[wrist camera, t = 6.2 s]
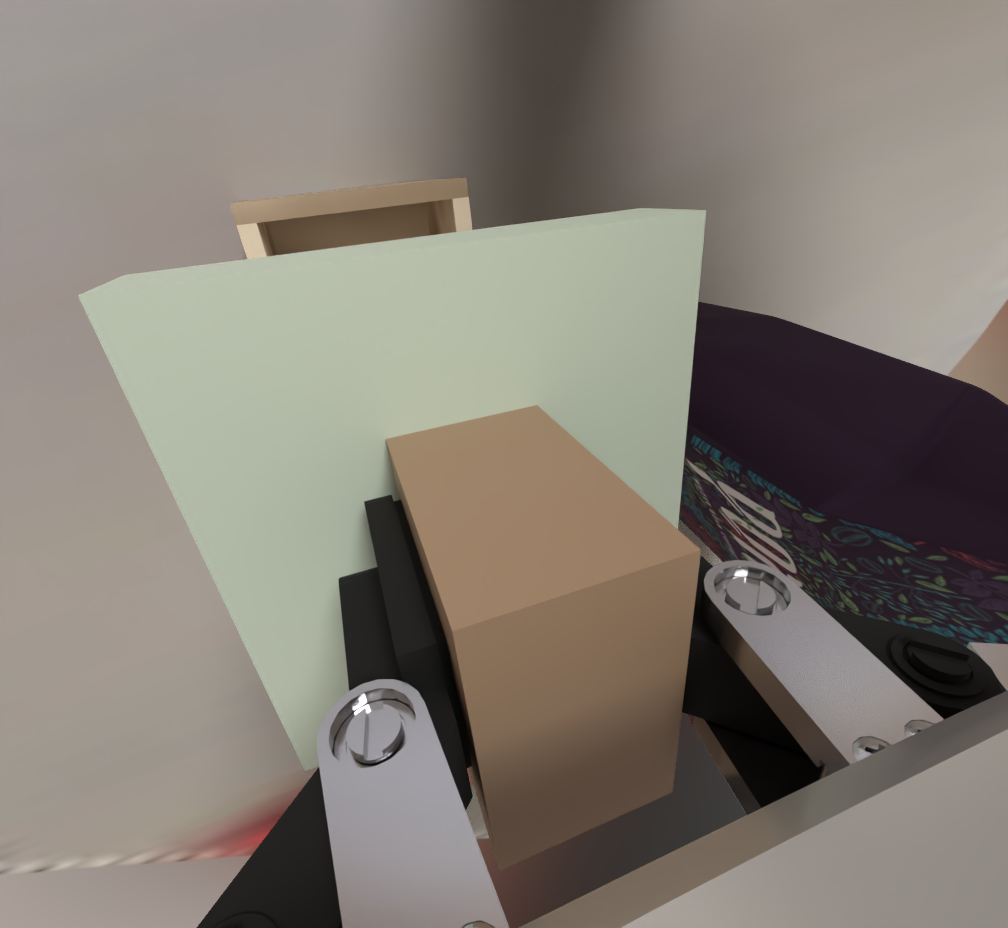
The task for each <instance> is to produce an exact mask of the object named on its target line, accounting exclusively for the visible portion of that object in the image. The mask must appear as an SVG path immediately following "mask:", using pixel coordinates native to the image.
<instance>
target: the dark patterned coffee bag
mask: <svg viewBox="0 0 1008 928" xmlns="http://www.w3.org/2000/svg"><path fill="white" fill-rule="evenodd" d="M679 519H680V520H681V521H682V522H683V523H684V524H685V525H686V526H688V527H689V528H690V529H691V530H692V531H693V532H694V533H695V534H696V535H697V536H698V537H699V538H700V539H701V540H702V541H703V542H704V543H705V544H706V545H707V546H708V547H709V548H710V549H711V550H712V551H713V552H714V553H715V554H716V555H717V556H718V557H719V558H720V559H721V560H722V561H723V562H725V561H733V560H744V561H753V562H757V563H761V564H765V565H767V566H770V567H772V568H774V569H776V570H778V571H780V572H781V573H783V574H784V575H786V576H787V577H788V578H790V579H791V580H792V581H793V582H794V583H795V584H796V585H798V586H799V587H800V588H801V589H802V590H803V591H804V592H805V593H806V594H807V595H809V596H810V597H811V598H812V599H813V600H814V601H815V602H816V603H817V604H818V605H819V606H821V607H826V608H830V609H835V610H839V611H844V612H848V613H853V614H857V615H861V616H866V617H870V618H875V619H879V620H884V621H888V622H893V623H897V624H901V625H906V626H910V627H915V628H919V629H924V630H928V631H931V632H934V633H937V634H940V635H944V636H946V637H948V638H950V639H952V640H954V641H956V642H958V643H961V644H963V645H964V646H965V647H967V646H968V644H969V642H974V643H993V644H1008V405H1006V404H1005V403H1003V402H1002V401H1000V400H999V399H997V398H996V397H994V396H993V395H991V394H990V393H988V392H987V391H985V390H983V389H981V388H979V387H977V386H974V385H972V384H969V383H966V382H963V381H960V380H957V379H954V378H951V377H948V376H945V375H943V374H940V373H937V372H934V371H931V370H928V369H925V368H922V367H919V366H916V365H914V364H911V363H908V362H905V361H902V360H899V359H896V358H893V357H890V356H887V355H885V354H882V353H879V352H876V351H873V350H870V349H867V348H864V347H861V346H859V345H856V344H853V343H850V342H847V341H844V340H841V339H838V338H835V337H832V336H830V335H827V334H824V333H821V332H818V331H815V330H812V329H809V328H806V327H803V326H801V325H798V324H795V323H792V322H789V321H786V320H783V319H780V318H776V317H773V316H768V315H763V314H758V313H753V312H748V311H743V310H738V309H733V308H728V307H723V306H718V305H712V304H707V303H702V302H698V309H697V320H696V332H695V343H694V354H693V365H692V376H691V388H690V399H689V410H688V421H687V433H686V444H685V455H684V466H683V477H682V489H681V500H680V511H679Z"/></svg>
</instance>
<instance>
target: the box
mask: <svg viewBox="0 0 1008 928" xmlns="http://www.w3.org/2000/svg"><path fill="white" fill-rule="evenodd" d="M230 207H231V210H232V213H233V216H234V219H235V222H236V225H237V228H238V231H239V234H240V238H241V241H242V244H243V247H244V250H245V253H246V256H247V259H252V258H260V257H268V256H275V255H283V254H291V253H299V252H306V251H314V250H322V249H329V248H337V247H345V246H353V245H360V244H368V243H376V242H383V241H391V240H399V239H407V238H414V237H422V236H430V235H437V234H445V233H453V232H460V231H468V230H472V221H471V213H470V204H469V195H468V186H467V178H450V179H432V180H424V181H415V182H406V183H397V184H388V185H379V186H370V187H361V188H352V189H344V190H335V191H326V192H317V193H308V194H299V195H290V196H281V197H272V198H264V199H255V200H246V201H242V202H238V203H233V204H230Z"/></svg>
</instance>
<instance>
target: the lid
mask: <svg viewBox="0 0 1008 928" xmlns="http://www.w3.org/2000/svg"><path fill="white" fill-rule="evenodd" d="M705 219H706V210H685V209H654V208H638V209H630V210H622V211H615V212H607V213H599V214H592V215H584V216H576V217H568V218H561V219H553V220H545V221H538V222H530V223H522V224H514V225H507V226H499V227H491V228H484V229H476V230H468V231H460V232H453V233H445V234H437V235H430V236H422V237H414V238H407V239H399V240H391V241H383V242H376V243H368V244H360V245H353V246H345V247H337V248H329V249H322V250H314V251H306V252H299V253H291V254H283V255H275V256H268V257H260V258H252V259H245V260H237V261H229V262H221V263H214V264H206V265H198V266H191V267H183V268H175V269H168V270H160V271H152V272H144V273H137V274H129V275H123V276H121V277H119V278H117V279H114V280H112V281H110V282H107V283H105V284H103V285H101V286H98V287H96V288H94V289H91V290H89V291H87V292H85V293H82V294H80V295H78V297H79V299H80V301H81V303H82V305H83V307H84V309H85V311H86V313H87V316H88V318H89V320H90V322H91V324H92V326H93V328H94V330H95V332H96V334H97V337H98V339H99V341H100V343H101V345H102V347H103V349H104V351H105V353H106V355H107V357H108V360H109V362H110V364H111V366H112V368H113V370H114V372H115V374H116V376H117V378H118V381H119V383H120V385H121V387H122V389H123V391H124V393H125V395H126V397H127V399H128V402H129V404H130V406H131V408H132V410H133V412H134V414H135V416H136V418H137V420H138V422H139V425H140V427H141V429H142V431H143V433H144V435H145V437H146V439H147V441H148V443H149V446H150V448H151V450H152V452H153V454H154V456H155V458H156V460H157V462H158V464H159V467H160V469H161V471H162V473H163V475H164V477H165V479H166V481H167V483H168V485H169V488H170V490H171V492H172V494H173V496H174V498H175V500H176V502H177V504H178V506H179V508H180V511H181V513H182V515H183V517H184V519H185V521H186V523H187V525H188V527H189V529H190V532H191V534H192V536H193V538H194V540H195V542H196V544H197V546H198V548H199V550H200V553H201V555H202V557H203V559H204V561H205V563H206V565H207V567H208V569H209V571H210V573H211V576H212V578H213V580H214V582H215V584H216V586H217V588H218V590H219V592H220V594H221V597H222V599H223V601H224V603H225V605H226V607H227V609H228V611H229V613H230V615H231V618H232V620H233V622H234V624H235V626H236V628H237V630H238V632H239V634H240V636H241V639H242V641H243V643H244V645H245V647H246V649H247V651H248V653H249V655H250V657H251V659H252V662H253V664H254V666H255V668H256V670H257V672H258V674H259V676H260V678H261V680H262V683H263V685H264V687H265V689H266V691H267V693H268V695H269V697H270V699H271V701H272V704H273V706H274V708H275V710H276V712H277V714H278V716H279V718H280V720H281V722H282V724H283V727H284V729H285V731H286V733H287V735H288V737H289V739H290V741H291V743H292V745H293V748H294V750H295V752H296V754H297V756H298V758H299V760H300V762H301V764H302V766H303V769H304V771H307V770H310V769H313V768H315V767H318V766H319V762H318V755H317V734H318V732H319V729H320V726H321V724H322V721H323V718H324V717H325V716H326V714H327V713H328V711H329V710H330V708H331V707H332V706H333V704H334V703H335V702H337V701H338V700H339V699H340V698H341V697H342V696H343V695H344V694H346V693H347V692H349V684H348V674H347V664H346V654H345V643H344V633H343V623H342V613H341V603H340V593H339V578H340V577H344V576H347V575H351V574H354V573H358V572H361V571H365V570H368V569H372V568H375V567H377V563H376V558H375V553H374V548H373V543H372V539H371V534H370V529H369V524H368V519H367V514H366V510H365V505H364V501H368V500H372V499H376V498H380V497H384V496H388V495H392V498H393V501H398V500H401V502H402V505H403V508H404V511H405V514H406V517H407V520H408V523H409V526H410V529H411V532H412V535H413V538H414V542H415V545H416V548H417V551H418V554H419V557H420V560H421V563H422V566H423V569H424V572H425V575H426V578H427V581H428V584H429V587H430V591H431V594H432V597H433V600H434V603H435V606H436V609H437V612H438V615H439V618H440V621H441V624H442V628H443V631H444V634H445V638H446V642H447V646H448V650H449V654H450V659H451V664H452V669H453V674H454V679H455V684H456V689H457V693H458V698H459V703H460V708H461V713H462V718H463V723H464V728H465V733H466V737H467V742H468V747H469V752H470V757H471V762H472V766H471V767H469V770H470V773H471V777H472V780H473V784H474V787H475V790H476V794H477V797H478V801H479V804H480V808H481V811H482V814H483V818H484V821H485V825H486V828H487V831H488V835H489V838H490V841H491V845H492V849H493V852H494V855H495V859H496V862H497V866H498V869H499V870H502V869H504V868H506V867H509V866H511V865H513V864H515V863H518V862H520V861H522V860H524V859H526V858H529V857H531V856H533V855H535V854H537V853H539V852H542V851H544V850H546V849H548V848H550V847H553V846H555V845H557V844H559V843H561V842H563V841H566V840H568V839H570V838H572V837H574V836H577V835H579V834H581V833H583V832H586V831H588V830H590V829H592V828H594V827H597V826H599V825H601V824H603V823H605V822H608V821H610V820H612V819H614V818H616V817H619V816H621V815H623V814H625V813H627V812H630V811H632V810H634V809H636V808H638V807H641V806H643V805H645V804H647V803H649V802H652V801H654V800H656V799H658V798H660V797H662V796H664V795H667V794H669V793H671V792H672V791H673V783H674V774H675V766H676V757H677V749H678V740H679V732H680V723H681V715H682V707H683V698H684V690H685V682H686V673H687V665H688V656H689V648H690V640H691V631H692V623H693V614H694V606H695V597H696V589H697V581H698V572H699V564H700V555H701V550H700V549H699V548H698V547H697V546H696V545H695V544H694V543H693V542H691V541H690V540H689V539H688V538H687V537H686V536H685V535H684V534H682V533H681V532H680V531H679V530H678V522H679V511H680V500H681V489H682V477H683V466H684V455H685V444H686V433H687V421H688V410H689V399H690V388H691V376H692V365H693V354H694V343H695V332H696V320H697V309H698V298H699V287H700V275H701V264H702V253H703V242H704V231H705Z"/></svg>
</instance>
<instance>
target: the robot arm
mask: <svg viewBox="0 0 1008 928" xmlns="http://www.w3.org/2000/svg"><path fill="white" fill-rule="evenodd" d="M364 505H365V510H366V514H367V519H368V524H369V529H370V534H371V539H372V543H373V548H374V553H375V558H376V563H377V567H375V568H372V569H368V570H365V571H361V572H358V573H354V574H351V575H347V576H344V577H340V578H339V593H340V603H341V613H342V623H343V633H344V643H345V654H346V664H347V674H348V684H349V692H347V693H346V694H344V695H343V696H342V697H341V698H340V699H339V700H338V701H337V702H335V703H334V704H333V706H332V707H331V708H330V710H329V711H328V713H327V714H326V716H325V717H324V718H323V721H322V724H321V726H320V729H319V732H318V734H317V755H318V762H319V768H318V769H317V771H316V772H315V773H314V774H313V776H312V777H311V778H310V780H309V781H308V782H307V784H306V785H305V786H304V788H303V789H302V790H301V792H300V793H299V794H298V795H297V797H296V798H295V799H294V801H293V802H292V803H291V805H290V806H289V807H288V809H287V810H286V811H285V813H284V814H283V815H282V816H281V818H280V819H279V820H278V822H277V823H276V824H275V826H274V827H273V828H272V830H271V831H270V832H269V834H268V835H267V836H266V837H265V839H264V840H263V841H262V843H261V844H260V845H259V847H258V848H257V849H256V851H255V852H254V853H253V855H252V856H251V857H250V859H249V860H248V861H247V863H246V864H245V865H244V866H243V868H242V869H241V871H240V872H239V873H238V875H237V876H236V877H235V878H234V879H233V881H232V882H231V883H230V885H229V886H228V887H227V889H226V890H225V891H224V893H223V894H222V895H221V897H220V898H219V899H218V901H217V902H216V903H215V905H214V906H213V907H212V908H211V910H210V911H209V912H208V914H207V915H206V916H205V918H204V919H203V920H202V922H201V923H200V924H199V926H198V927H197V928H509V926H508V923H507V920H506V918H505V915H504V912H503V910H502V907H501V904H500V902H499V899H498V897H497V894H496V891H495V888H494V886H493V883H492V880H491V878H490V875H489V873H488V870H487V867H486V864H485V862H484V859H483V857H482V854H481V851H480V849H479V846H478V843H477V840H476V838H475V835H474V832H473V830H472V827H471V824H470V822H469V819H468V816H467V814H466V809H467V807H468V805H469V803H470V801H471V799H472V797H473V796H472V791H471V787H470V782H469V777H468V773H467V768H469V767H471V766H472V762H471V757H470V752H469V747H468V742H467V737H466V733H465V728H464V723H463V718H462V713H461V708H460V703H459V698H458V693H457V689H456V684H455V679H454V674H453V669H452V664H451V659H450V654H449V650H448V646H447V642H446V638H445V634H444V631H443V628H442V624H441V621H440V618H439V615H438V612H437V609H436V606H435V603H434V600H433V597H432V594H431V591H430V587H429V584H428V581H427V578H426V575H425V572H424V569H423V566H422V563H421V560H420V557H419V554H418V551H417V548H416V545H415V542H414V538H413V535H412V532H411V529H410V526H409V523H408V520H407V517H406V514H405V511H404V508H403V505H402V502H401V500H398V501H393V498H392V495H388V496H384V497H380V498H376V499H372V500H368V501H364ZM682 712H683V713H687V714H688V717H689V719H690V721H691V724H692V726H693V727H694V729H695V731H696V732H697V734H698V736H699V737H700V739H701V741H702V742H703V744H704V745H705V747H706V749H707V750H708V752H709V754H710V755H711V757H712V759H713V760H714V762H715V764H716V765H717V767H718V768H719V770H720V772H721V773H722V775H723V776H724V778H725V780H726V781H727V783H728V784H729V786H730V788H731V790H732V791H733V793H734V794H735V796H736V798H737V799H738V801H739V803H740V804H741V806H742V807H743V809H744V811H745V812H746V814H747V816H745V817H743V818H740V819H739V820H737V821H734V822H732V823H730V824H729V825H726V826H724V827H722V828H720V829H718V830H716V831H714V832H712V833H710V834H708V835H706V836H704V837H702V838H700V839H698V840H696V841H694V842H691V843H689V844H687V845H686V846H683V847H681V848H679V849H677V850H675V851H673V852H671V853H669V854H667V855H665V856H663V857H661V858H659V859H657V860H655V861H653V862H651V863H649V864H647V865H645V866H643V867H641V868H639V869H637V870H635V871H633V872H630V873H628V874H626V875H624V876H622V877H620V878H618V879H617V880H614V881H612V882H610V883H609V884H606V885H604V886H602V887H600V888H598V889H596V890H594V891H592V892H590V893H588V894H586V895H584V896H582V897H580V898H578V899H576V900H574V901H572V902H570V903H568V904H566V905H564V906H562V907H560V908H558V909H556V910H554V911H552V912H550V913H548V914H546V915H544V916H542V917H540V918H538V919H536V920H534V921H532V922H530V923H528V924H526V925H524V926H522V927H520V928H1008V644H993V643H974V642H969V644H968V646H967V647H965V646H964V645H963V644H961V643H958V642H956V641H954V640H952V639H950V638H948V637H946V636H944V635H940V634H937V633H934V632H931V631H928V630H924V629H919V628H915V627H910V626H906V625H901V624H897V623H893V622H888V621H884V620H879V619H875V618H870V617H866V616H861V615H857V614H853V613H848V612H844V611H839V610H835V609H830V608H826V607H821V606H819V605H818V604H817V603H816V602H815V601H814V600H813V599H812V598H811V597H810V596H809V595H807V594H806V593H805V592H804V591H803V590H802V589H801V588H800V587H799V586H798V585H796V584H795V583H794V582H793V581H792V580H791V579H790V578H788V577H787V576H786V575H784V574H783V573H781V572H780V571H778V570H776V569H774V568H772V567H770V566H767V565H765V564H761V563H757V562H753V561H744V560H733V561H725V562H722V563H720V564H717V565H715V566H712V565H711V564H710V563H709V562H708V561H706V560H705V559H704V558H703V557H702V556H701V555H700V564H699V572H698V581H697V589H696V597H695V606H694V614H693V623H692V631H691V640H690V648H689V656H688V665H687V673H686V682H685V690H684V698H683V707H682Z"/></svg>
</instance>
